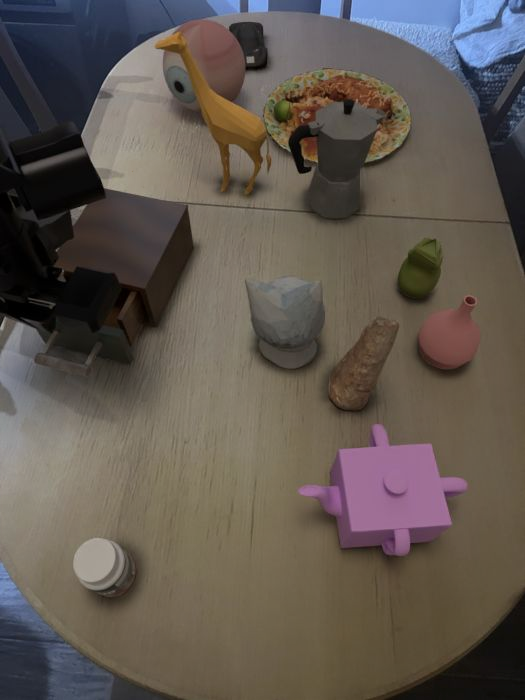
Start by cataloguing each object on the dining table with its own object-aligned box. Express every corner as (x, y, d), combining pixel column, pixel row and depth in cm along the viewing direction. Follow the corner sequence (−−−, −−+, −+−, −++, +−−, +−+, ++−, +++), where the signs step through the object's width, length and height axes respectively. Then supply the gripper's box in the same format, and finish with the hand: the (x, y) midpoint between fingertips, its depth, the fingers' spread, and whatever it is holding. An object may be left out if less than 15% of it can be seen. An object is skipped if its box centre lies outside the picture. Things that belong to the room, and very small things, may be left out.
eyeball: (153, 114, 99) (138, 32, 86) (196, 76, 106) (188, -6, 93) (220, 139, 95) (214, 57, 82) (260, 97, 102) (260, 16, 89)
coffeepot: (356, 174, 90) (376, 73, 75) (381, 210, 86) (407, 110, 70) (274, 195, 88) (277, 94, 72) (295, 233, 83) (303, 134, 68)
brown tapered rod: (341, 420, 66) (379, 400, 68) (387, 365, 50) (435, 341, 52) (316, 380, 68) (353, 361, 70) (352, 314, 52) (399, 292, 54)
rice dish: (368, 195, 89) (375, 169, 84) (234, 135, 96) (234, 109, 91) (429, 112, 102) (438, 85, 97) (307, 64, 108) (310, 37, 103)
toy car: (233, 71, 107) (232, 50, 103) (228, 33, 115) (227, 12, 111) (268, 70, 107) (269, 48, 104) (261, 32, 115) (261, 11, 111)
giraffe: (173, 188, 88) (146, 35, 67) (181, 171, 91) (157, 18, 69) (268, 201, 87) (270, 49, 65) (272, 184, 89) (277, 31, 68)
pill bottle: (84, 588, 55) (58, 576, 48) (105, 544, 58) (83, 527, 50) (124, 604, 54) (103, 594, 47) (143, 559, 57) (127, 543, 50)
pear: (437, 287, 77) (459, 240, 69) (421, 311, 75) (442, 265, 66) (403, 271, 79) (420, 223, 70) (387, 293, 76) (403, 246, 68)
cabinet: (156, 327, 73) (145, 288, 66) (67, 306, 75) (46, 266, 67) (194, 247, 81) (187, 205, 74) (113, 230, 83) (98, 186, 75)
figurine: (328, 328, 73) (343, 256, 60) (307, 380, 69) (318, 314, 56) (264, 307, 75) (265, 233, 62) (239, 356, 71) (235, 287, 58)
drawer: (115, 397, 66) (102, 371, 60) (27, 374, 68) (5, 346, 62) (170, 283, 76) (163, 251, 70) (92, 265, 78) (78, 232, 72)
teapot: (299, 573, 56) (306, 555, 47) (287, 451, 63) (291, 417, 55) (461, 561, 57) (497, 542, 48) (431, 442, 64) (457, 407, 56)
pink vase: (401, 339, 72) (425, 285, 62) (448, 323, 74) (479, 268, 63) (430, 385, 68) (460, 335, 58) (479, 367, 70) (517, 316, 60)
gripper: (125, 188, 48) (154, 292, 61) (-53, 152, 50) (12, 260, 63) (71, 278, 42) (116, 372, 55) (-127, 233, 44) (-38, 333, 58)
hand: (50, 330), depth 58 cm, fingers closed
